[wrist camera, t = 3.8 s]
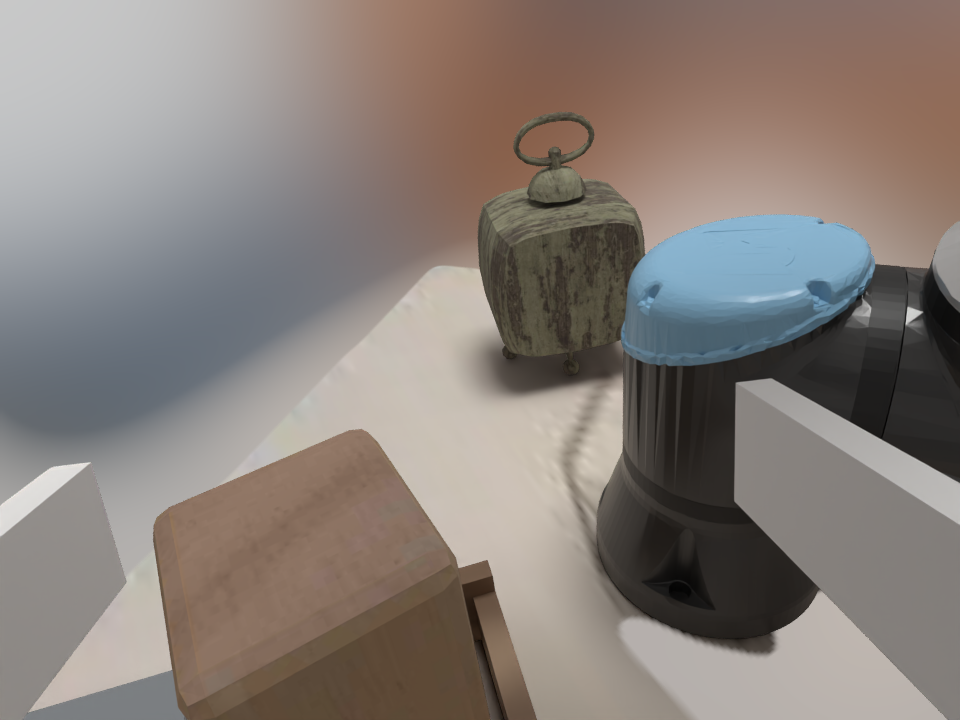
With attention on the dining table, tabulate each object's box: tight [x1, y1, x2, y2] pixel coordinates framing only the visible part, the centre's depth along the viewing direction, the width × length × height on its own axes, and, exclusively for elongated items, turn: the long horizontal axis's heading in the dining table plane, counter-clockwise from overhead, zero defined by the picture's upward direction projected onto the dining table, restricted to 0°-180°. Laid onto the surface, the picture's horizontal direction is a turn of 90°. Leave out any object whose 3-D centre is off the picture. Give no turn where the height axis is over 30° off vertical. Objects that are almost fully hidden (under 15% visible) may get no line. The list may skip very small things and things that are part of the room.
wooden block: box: [153, 429, 491, 720], centre depth 30 cm, size 10×10×20 cm
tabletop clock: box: [478, 112, 645, 375], centre depth 58 cm, size 14×9×25 cm, turn 99°
